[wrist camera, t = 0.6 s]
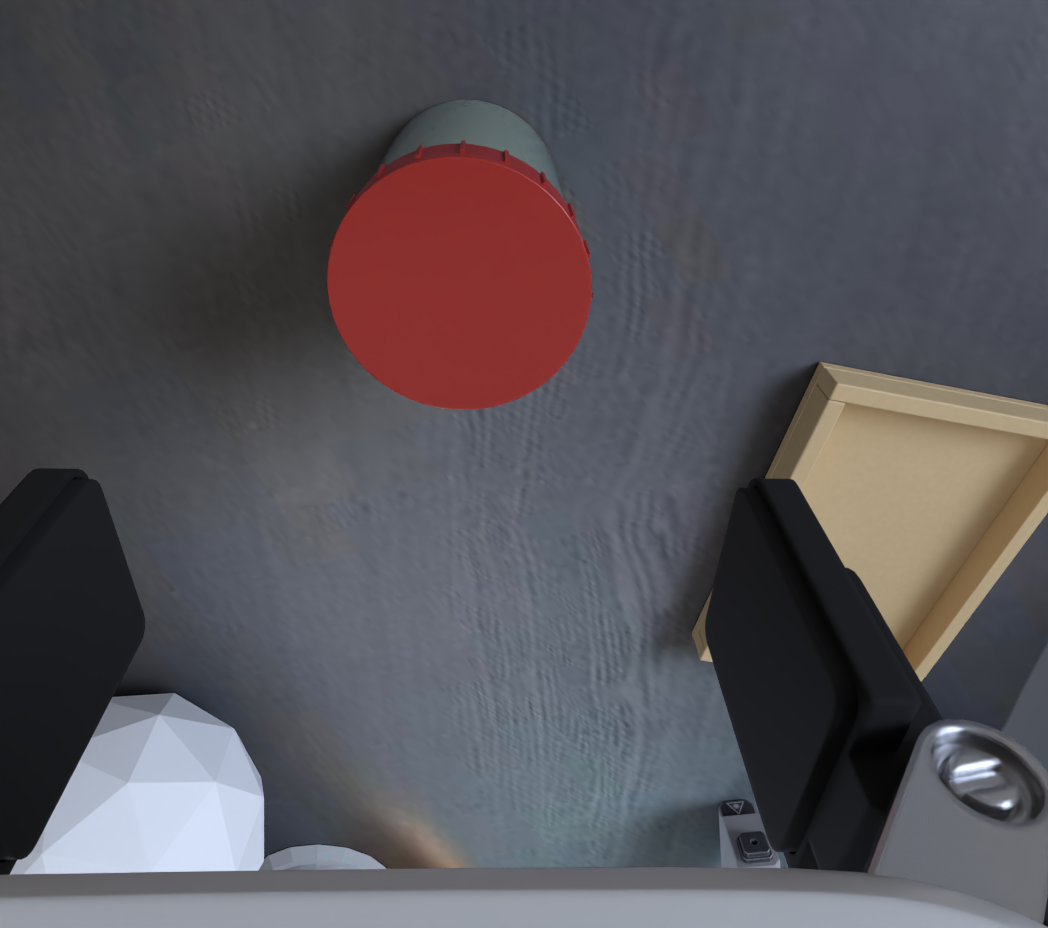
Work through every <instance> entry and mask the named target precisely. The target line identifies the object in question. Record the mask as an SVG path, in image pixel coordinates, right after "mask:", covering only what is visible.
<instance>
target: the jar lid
mask: <svg viewBox="0 0 1048 928" xmlns="http://www.w3.org/2000/svg"><path fill="white" fill-rule="evenodd" d="M346 208H347V209H348V211H347V212H346V214H345V216H344V218H343V219H342V221H341V223H340V225H339V228H338V230H337V231H336V233H335V235H334V237H333V238H332V240H331V242H330V245H329V246H331V250H330V253H329V260H328V267H327V290H328V298H329V304H330V308H331V311H332V315H333V319H334V321H335V324H336V326H337V328H338V331H339V333H340V335H341V337H342V339H343V340H344V342H345V344H346V346H347V347H348V349H349V350H350V352H351V353H352V354H353V355H354V357H355V358H356V359H357V361H358V362H359V363H360V364H361V365H362V366H363V367H364V368H365V369H366V370H367V371H368V372H369V373H370V374H371V375H372V376H373V377H375V378H376V379H377V380H378V381H380V382H381V383H382V384H383V385H385V386H387V387H388V388H390V389H391V390H393V391H395V392H396V393H398V394H400V395H402V396H404V397H407V398H409V399H411V400H414V401H417V402H419V403H422V404H425V405H429V406H434V407H438V408H445V409H454V410H474V409H483V408H489V407H494V406H498V405H502V404H505V403H508V402H511V401H513V400H516V399H518V398H520V397H522V396H524V395H526V394H528V393H530V392H532V391H533V390H535V389H536V388H538V387H539V386H541V385H542V384H544V383H545V382H546V381H547V380H548V379H550V378H551V377H552V376H553V375H554V374H555V373H556V372H557V371H558V370H559V369H560V368H561V367H562V366H563V365H564V363H565V362H566V361H567V360H568V358H569V357H570V355H571V354H572V352H573V351H574V349H575V348H576V346H577V344H578V342H579V340H580V338H581V336H582V334H583V331H584V328H585V325H586V322H587V320H588V315H589V310H590V305H591V297H593V293H592V282H591V270H590V265H589V260H588V258H590V257H591V255H590V252H589V249H588V246H587V243H586V240H585V241H583V239H582V236H581V233H580V230H579V227H578V225H577V222H576V219H575V218H576V217H575V214H574V211H573V208H572V205H571V203H569V204H567V203H566V202H565V200H564V199H563V197H562V196H561V194H560V193H559V192H558V191H557V189H556V188H555V187H554V186H553V185H552V184H551V183H550V182H549V181H548V180H547V179H546V175H545V173H544V172H543V171H542V172H541V173H539V172H538V171H537V170H535V169H534V168H533V167H531V166H530V165H528V164H526V163H525V162H523V161H522V160H520V159H518V158H516V157H514V156H512V155H509V151H508V150H506V149H505V150H504V152H503V151H499V150H496V149H493V148H489V147H486V146H480V145H473V144H466V141H465V140H462V141H461V144H453V143H449V144H442V145H434V146H429V147H426V148H423V145H420V146H418V149H417V150H415V151H413V152H410V153H408V154H406V155H404V156H401V157H399V158H397V159H396V160H394V161H393V162H391V163H389V164H388V165H386V166H385V164H384V163H383V164H382V165H381V166H380V168H379V170H378V171H377V173H376V174H375V175H374V176H373V177H372V178H371V179H370V180H369V181H368V182H367V183H366V184H365V186H364V187H363V188H362V189H361V190H360V191H359V193H358V195H357V194H356V193H354V194H353V196H352V197H351V199H350V201H349V202H348V204H347V206H346Z"/></svg>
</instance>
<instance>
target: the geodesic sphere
mask: <svg viewBox="0 0 1048 928" xmlns="http://www.w3.org/2000/svg"><path fill="white" fill-rule="evenodd" d="M263 862H264V795H263V788H262V781H261V776H260V775H259V773H258V771H257V769H256V767H255V766H254V764H253V762H252V760H251V758H250V756H249V755H248V753H247V751H246V749H245V747H244V746H243V744H242V742H241V740H240V738H239V736H238V735H237V733H236V731H235V729H234V728H232V727H231V726H229V725H227V724H226V723H224V722H222V721H221V720H219V719H217V718H216V717H214V716H212V715H211V714H209V713H207V712H205V711H204V710H202V709H200V708H199V707H197V706H195V705H194V704H192V703H190V702H189V701H187V700H185V699H184V698H182V697H180V696H179V695H177V694H175V693H167V694H151V695H136V696H120V697H112V699H111V701H110V703H109V705H108V707H107V709H106V711H105V713H104V714H103V716H102V718H101V720H100V722H99V724H98V726H97V728H96V730H95V732H94V734H93V736H92V738H91V740H90V742H89V744H88V745H87V747H86V749H85V751H84V753H83V755H82V757H81V759H80V761H79V763H78V765H77V767H76V769H75V771H74V773H73V775H72V776H71V778H70V780H69V782H68V784H67V786H66V788H65V790H64V792H63V794H62V796H61V798H60V800H59V802H58V804H57V805H56V807H55V809H54V811H53V813H52V815H51V817H50V819H49V821H48V823H47V825H46V827H45V829H44V831H43V833H42V835H41V836H40V838H39V840H38V842H37V844H36V846H35V848H34V849H33V851H32V852H31V853H30V854H29V855H28V856H27V857H26V858H24V859H22V860H17V861H16V863H15V865H14V867H13V869H12V871H11V873H10V875H12V874H70V873H131V872H192V871H258V870H259V868H260V867H261V865H262V863H263Z"/></svg>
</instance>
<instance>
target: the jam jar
mask: <svg viewBox="0 0 1048 928" xmlns="http://www.w3.org/2000/svg"><path fill="white" fill-rule="evenodd" d="M462 140H465V141H466V144H473V145H480V146H486V147H489V148H493V149H496V150H499V151H503V152H504V150H505V149H506V150H508V151H509V155H512V156H514V157H516V158H518V159H520V160H522V161H523V162H525V163H526V164H528V165H530V166H531V167H533V168H534V169H535V170H537V171H538V172H539V173H541V172H542V171H543V172H544V173H545V175H546V179H547V180H548V181H549V182H550V183H551V184H552V185H553V186H554V187H555V188H556V189H557V191H558V192H559V193H560V194H561V196H562V197H563V199H564V200H565V198H564V195H563V191H562V188H561V185H560V181H559V178H558V174H557V171H556V168H555V165H554V162H553V159H552V157H551V155H550V153H549V151H548V149H547V147H546V145H545V144H544V142H543V141H542V139H541V138H540V136H539V135H538V134H537V133H536V132H535V131H534V130H533V128H532V127H531V126H530V125H529V124H527V123H526V122H525V121H524V120H523V119H522V118H520V117H519V116H517V115H516V114H514V113H512V112H511V111H509V110H507V109H505V108H503V107H500V106H498V105H495V104H491V103H488V102H483V101H477V100H457V101H450V102H446V103H442V104H439V105H436V106H434V107H432V108H429V109H427V110H425V111H424V112H422V113H420V114H419V115H417V116H416V117H414V118H413V119H412V120H411V121H410V122H409V123H408V124H406V125H405V127H404V128H403V129H402V130H401V131H400V132H399V133H398V135H397V136H396V138H395V139H394V141H393V142H392V144H391V146H390V147H389V149H388V151H387V153H386V155H385V157H384V158H383V160H382V162H381V164H380V166H381V165H382V164H383V163H384V164H385V166H386V165H388V164H389V163H391V162H393V161H394V160H396V159H397V158H399V157H401V156H404V155H406V154H408V153H410V152H413V151H415V150H417V149H418V146H420V145H423V148H426V147H429V146H434V145H442V144H449V143H453V144H461V141H462ZM380 166H379V167H378V169H377V171H378V170H379V168H380ZM377 171H376V173H377ZM376 173H375V174H376Z"/></svg>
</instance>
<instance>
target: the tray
mask: <svg viewBox="0 0 1048 928" xmlns="http://www.w3.org/2000/svg"><path fill="white" fill-rule="evenodd" d="M765 478H766V479H792V480H794V481H795V482H796V483H797V484H798V486H799V488H800V490H801V491H802V493H803V495H804V497H805V498H806V500H807V502H808V504H809V505H810V507H811V509H812V511H813V512H814V514H815V516H816V518H817V519H818V521H819V523H820V525H821V526H822V528H823V530H824V532H825V533H826V535H827V537H828V539H829V540H830V542H831V544H832V546H833V547H834V549H835V551H836V553H837V554H838V556H839V558H840V559H841V561H842V563H843V565H844V566H845V568H849V569H851V570H853V571H855V573H856V574H857V575H858V576H859V578H860V579H861V581H862V582H863V584H864V586H865V587H866V589H867V591H868V593H869V594H870V596H871V598H872V599H873V601H874V603H875V605H876V606H877V608H878V610H879V611H880V613H881V615H882V616H883V618H884V620H885V622H886V623H887V625H888V627H889V628H890V630H891V632H892V633H893V635H894V637H895V639H896V640H897V642H898V644H899V645H900V647H901V649H902V650H903V652H904V654H905V656H906V657H907V659H908V661H909V662H910V664H911V666H912V668H913V669H914V671H915V673H916V674H917V676H918V678H919V679H920V681H922V680H923V678H925V676H926V675H927V674H928V672H929V671H930V670H931V668H932V667H933V666H934V664H935V663H936V662H937V660H938V659H939V658H940V656H941V655H942V654H943V652H944V651H945V650H946V648H947V647H948V646H949V644H950V643H951V642H952V640H953V639H954V638H955V636H956V635H957V634H958V632H959V631H960V629H961V628H962V627H963V625H964V624H965V623H966V621H967V620H968V619H969V617H970V616H971V615H972V613H973V612H974V611H975V609H976V608H977V607H978V605H979V604H980V603H981V601H982V600H983V599H984V597H985V596H986V595H987V593H988V592H989V591H990V589H991V588H992V587H993V585H994V584H995V583H996V581H997V580H998V579H999V577H1000V576H1001V574H1002V573H1003V572H1004V570H1005V569H1006V568H1007V566H1008V565H1009V564H1010V562H1011V561H1012V560H1013V558H1014V557H1015V556H1016V554H1017V553H1018V552H1019V550H1020V549H1021V548H1022V546H1023V545H1024V544H1025V542H1026V541H1027V540H1028V538H1029V537H1030V536H1031V534H1032V533H1033V532H1034V530H1035V529H1036V528H1037V526H1038V525H1039V523H1040V522H1041V521H1042V519H1043V518H1044V517H1045V515H1046V514H1047V513H1048V405H1044V404H1038V403H1033V402H1028V401H1023V400H1017V399H1012V398H1007V397H1002V396H996V395H991V394H986V393H981V392H975V391H970V390H965V389H960V388H954V387H949V386H944V385H939V384H933V383H928V382H923V381H918V380H912V379H907V378H902V377H897V376H891V375H886V374H881V373H876V372H871V371H865V370H860V369H855V368H850V367H844V366H839V365H834V364H829V363H823V362H820V363H819V364H818V367H817V369H816V371H815V373H814V375H813V377H812V379H811V381H810V383H809V386H808V388H807V390H806V392H805V394H804V396H803V398H802V400H801V402H800V405H799V407H798V409H797V411H796V413H795V415H794V417H793V419H792V422H791V424H790V426H789V428H788V430H787V432H786V434H785V436H784V438H783V441H782V443H781V445H780V447H779V449H778V451H777V453H776V455H775V457H774V460H773V462H772V464H771V466H770V468H769V470H768V472H767V474H766V477H765ZM712 590H713V589H712ZM711 594H712V591H711V593H710V595H709V597H708V599H707V601H706V603H705V606H704V608H703V610H702V612H701V614H700V616H699V618H698V620H697V623H696V625H695V627H694V629H693V631H692V635H693V638H694V641H695V645H696V648H697V652H698V655H699V658H700V660H702V661H710V662H713V661H712V658H711V655H710V651H709V648H708V645H707V641H706V635H705V620H706V615H707V610H708V606H709V602H710V598H711Z"/></svg>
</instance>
